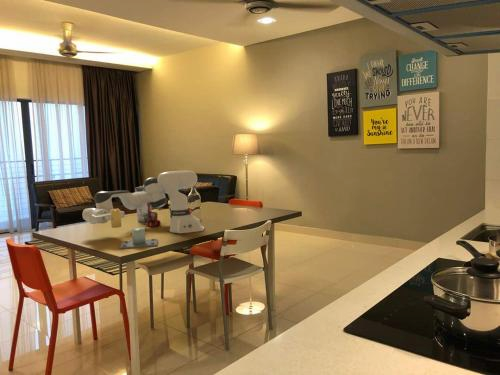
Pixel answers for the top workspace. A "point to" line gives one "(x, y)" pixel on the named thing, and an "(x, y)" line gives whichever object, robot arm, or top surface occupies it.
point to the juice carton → (143, 207)
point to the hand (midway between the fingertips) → (116, 217)
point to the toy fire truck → (152, 219)
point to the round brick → (116, 218)
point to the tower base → (130, 244)
